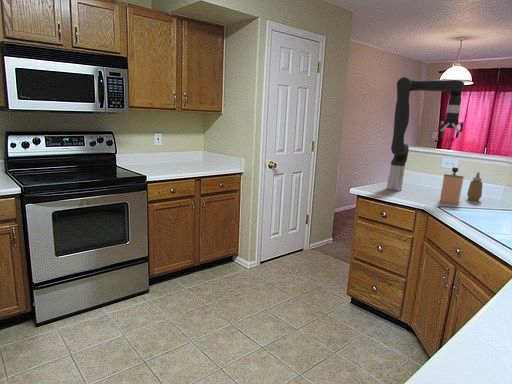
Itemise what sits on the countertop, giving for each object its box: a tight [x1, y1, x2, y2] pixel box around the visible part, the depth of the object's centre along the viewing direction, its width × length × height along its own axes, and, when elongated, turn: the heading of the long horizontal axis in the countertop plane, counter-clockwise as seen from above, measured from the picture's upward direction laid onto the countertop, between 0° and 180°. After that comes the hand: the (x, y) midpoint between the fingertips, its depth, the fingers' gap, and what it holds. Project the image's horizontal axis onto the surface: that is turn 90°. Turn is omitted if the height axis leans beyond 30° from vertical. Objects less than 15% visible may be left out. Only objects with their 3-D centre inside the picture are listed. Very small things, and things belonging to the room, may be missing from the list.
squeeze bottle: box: [466, 172, 483, 202], centre depth 234 cm, size 8×8×18 cm
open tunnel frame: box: [439, 174, 465, 205], centre depth 228 cm, size 10×10×16 cm
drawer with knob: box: [443, 166, 465, 178], centre depth 227 cm, size 10×10×20 cm
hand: (448, 137), depth 239 cm, fingers open, 8 cm apart
